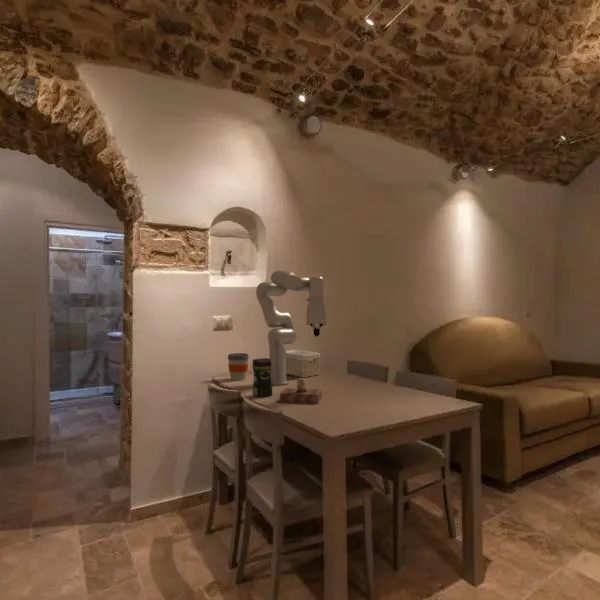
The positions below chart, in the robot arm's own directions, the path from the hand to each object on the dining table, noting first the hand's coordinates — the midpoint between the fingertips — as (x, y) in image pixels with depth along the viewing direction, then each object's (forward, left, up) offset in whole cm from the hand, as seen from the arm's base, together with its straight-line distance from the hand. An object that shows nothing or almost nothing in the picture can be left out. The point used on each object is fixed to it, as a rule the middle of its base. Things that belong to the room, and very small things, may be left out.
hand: (316, 336), depth 222 cm
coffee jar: (-26, -11, -29) cm, 41 cm away
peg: (-5, -17, -29) cm, 34 cm away
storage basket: (-19, +53, -30) cm, 64 cm away
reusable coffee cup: (-53, +31, -29) cm, 68 cm away
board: (-5, -17, -29) cm, 34 cm away
